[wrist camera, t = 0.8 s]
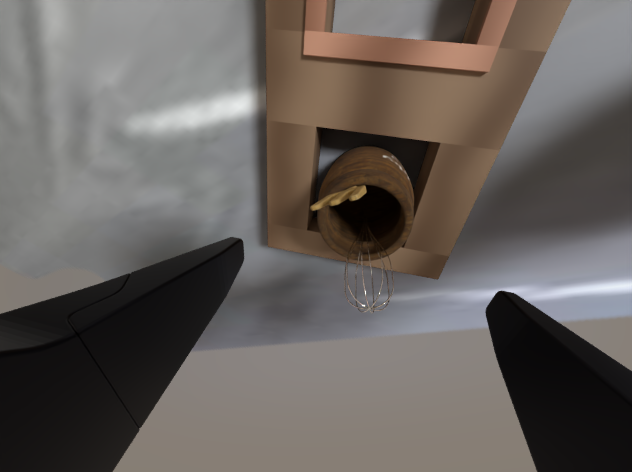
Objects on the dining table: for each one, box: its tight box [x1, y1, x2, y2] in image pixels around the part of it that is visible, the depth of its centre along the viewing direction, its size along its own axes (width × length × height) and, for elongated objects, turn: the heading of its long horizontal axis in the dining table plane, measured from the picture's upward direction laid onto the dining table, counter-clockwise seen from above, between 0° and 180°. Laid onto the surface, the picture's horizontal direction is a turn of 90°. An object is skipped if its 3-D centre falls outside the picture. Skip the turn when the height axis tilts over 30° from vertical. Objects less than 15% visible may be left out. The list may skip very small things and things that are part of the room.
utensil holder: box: [310, 146, 414, 314], centre depth 13 cm, size 6×6×12 cm
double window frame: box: [266, 0, 571, 279], centre depth 14 cm, size 14×24×3 cm, turn 174°
